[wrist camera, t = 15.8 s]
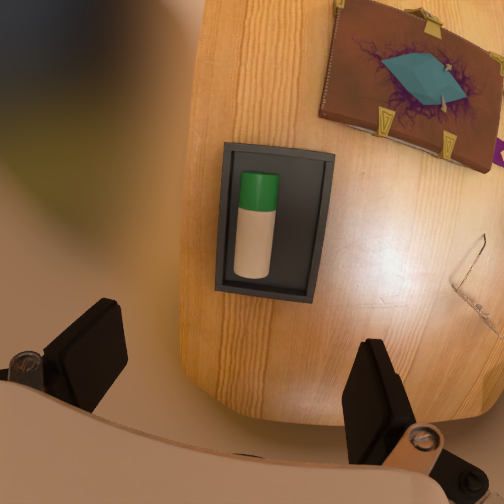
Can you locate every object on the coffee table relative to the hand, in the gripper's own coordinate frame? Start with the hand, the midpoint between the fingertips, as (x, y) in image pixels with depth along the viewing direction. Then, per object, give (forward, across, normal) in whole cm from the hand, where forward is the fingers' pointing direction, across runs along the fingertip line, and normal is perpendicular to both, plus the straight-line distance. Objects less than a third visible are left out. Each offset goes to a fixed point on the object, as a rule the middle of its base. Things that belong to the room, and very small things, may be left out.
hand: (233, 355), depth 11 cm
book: (+22, -16, -18) cm, 33 cm away
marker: (+21, 0, 0) cm, 21 cm away
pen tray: (+22, 0, 0) cm, 22 cm away
